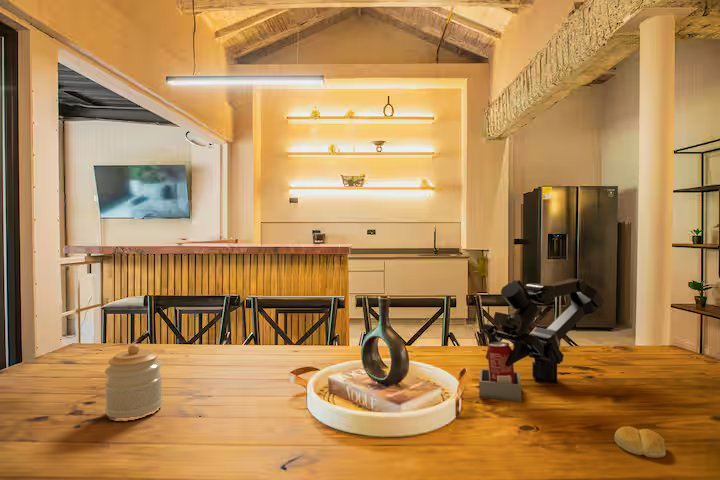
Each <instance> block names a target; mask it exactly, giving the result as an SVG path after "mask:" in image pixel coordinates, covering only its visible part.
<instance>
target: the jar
mask: <svg viewBox="0 0 720 480" xmlns="http://www.w3.org/2000/svg"><path fill="white" fill-rule="evenodd" d="M158 356H159V353H158V352H156V351H155V352H154V351H153V350H151V349H149V348H140V346H139V345H138V344H135V343H133V344H130V345H129V346H128V348H127V350H124V351H121V352H118V353H116V354H115V355H114V356H113V357H111V358H109V360H108V361H107V362H108V364H109V366H108V367H107V368H106V369H105V370H104V374H105V375H106V377H107V379H106V381H105V382H104V387H105V404H106V406H105V414H106V416H107V415H108V416H110V417H114V418H130V417H137V416H142V415H144V414H147V413H149V412H152V411H154V410H156V409H157V408H158V407H160V406H161V407H162V404H163V396H162V378H163V375H162V373H161V370H160V367H161V366H162V361H161V360H159V359H157V358H158Z"/></svg>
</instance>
